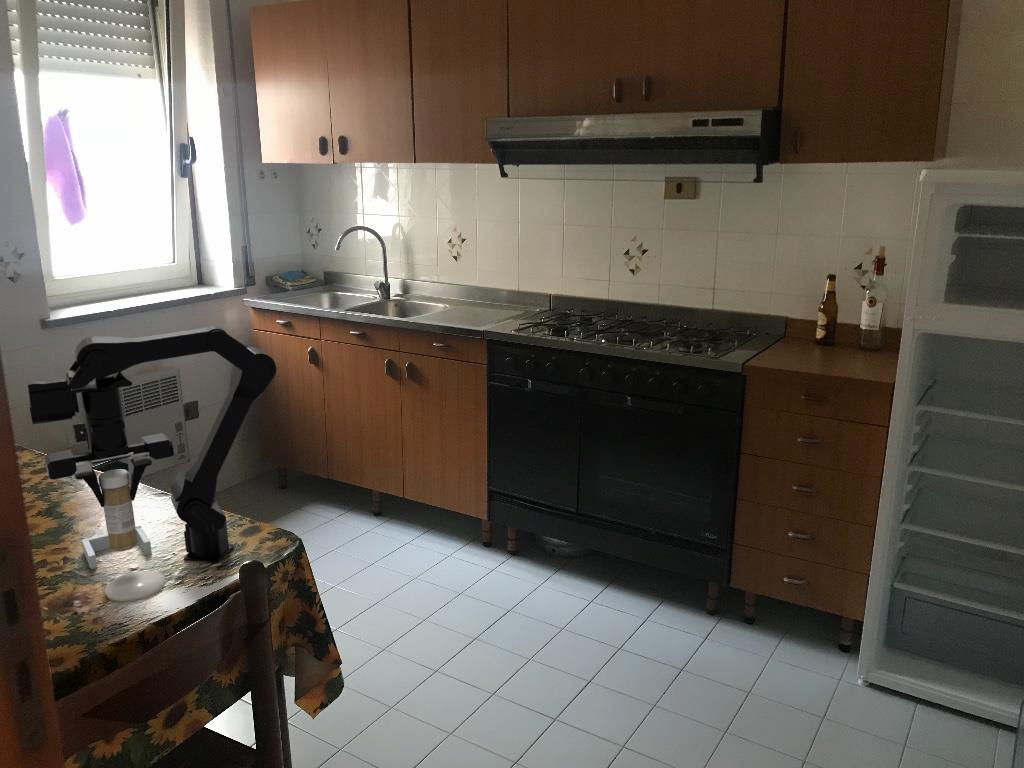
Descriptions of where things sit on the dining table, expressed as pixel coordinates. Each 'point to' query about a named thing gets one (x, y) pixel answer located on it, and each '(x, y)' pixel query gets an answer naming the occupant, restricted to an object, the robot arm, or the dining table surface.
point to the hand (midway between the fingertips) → (117, 503)
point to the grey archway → (103, 543)
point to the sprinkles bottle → (118, 509)
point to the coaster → (135, 586)
